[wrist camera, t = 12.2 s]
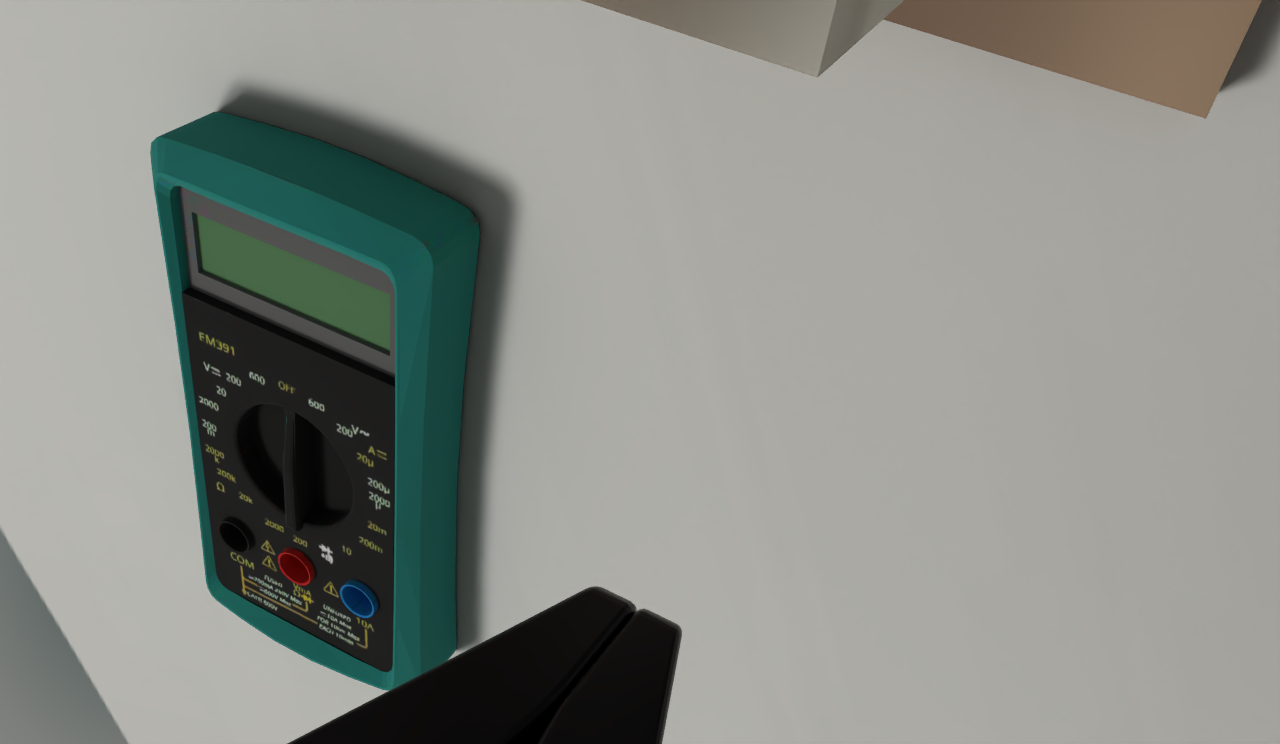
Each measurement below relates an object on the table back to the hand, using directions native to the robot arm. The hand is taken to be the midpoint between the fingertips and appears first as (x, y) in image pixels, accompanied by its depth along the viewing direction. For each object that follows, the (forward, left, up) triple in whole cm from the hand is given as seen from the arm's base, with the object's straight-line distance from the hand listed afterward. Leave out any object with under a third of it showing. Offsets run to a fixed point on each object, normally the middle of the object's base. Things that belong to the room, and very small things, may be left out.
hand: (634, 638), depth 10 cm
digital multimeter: (+12, +12, -13) cm, 21 cm away
